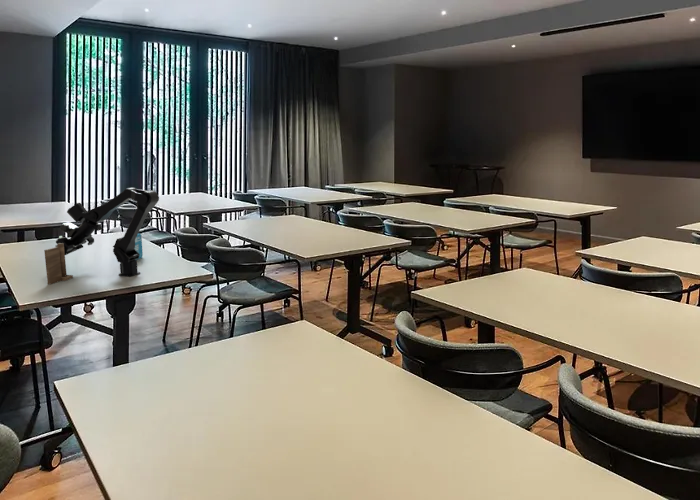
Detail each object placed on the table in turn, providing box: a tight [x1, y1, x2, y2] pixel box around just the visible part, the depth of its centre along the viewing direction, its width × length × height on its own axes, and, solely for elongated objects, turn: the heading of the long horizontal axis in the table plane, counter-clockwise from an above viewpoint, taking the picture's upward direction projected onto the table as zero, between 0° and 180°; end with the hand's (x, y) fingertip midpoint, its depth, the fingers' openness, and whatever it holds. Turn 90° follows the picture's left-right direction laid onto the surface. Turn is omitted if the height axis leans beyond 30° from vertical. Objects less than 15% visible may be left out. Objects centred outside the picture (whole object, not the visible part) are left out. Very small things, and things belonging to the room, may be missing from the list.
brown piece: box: [44, 243, 74, 285], centre depth 233 cm, size 5×11×15 cm, turn 169°
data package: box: [134, 233, 144, 260], centre depth 275 cm, size 12×4×12 cm, turn 176°
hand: (64, 254), depth 250 cm, fingers closed
